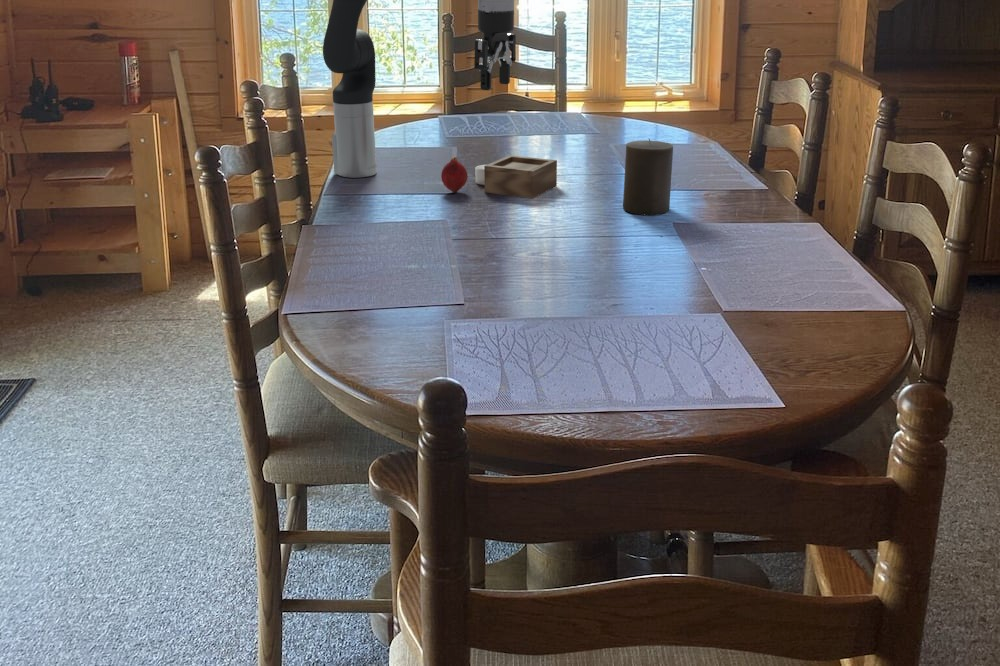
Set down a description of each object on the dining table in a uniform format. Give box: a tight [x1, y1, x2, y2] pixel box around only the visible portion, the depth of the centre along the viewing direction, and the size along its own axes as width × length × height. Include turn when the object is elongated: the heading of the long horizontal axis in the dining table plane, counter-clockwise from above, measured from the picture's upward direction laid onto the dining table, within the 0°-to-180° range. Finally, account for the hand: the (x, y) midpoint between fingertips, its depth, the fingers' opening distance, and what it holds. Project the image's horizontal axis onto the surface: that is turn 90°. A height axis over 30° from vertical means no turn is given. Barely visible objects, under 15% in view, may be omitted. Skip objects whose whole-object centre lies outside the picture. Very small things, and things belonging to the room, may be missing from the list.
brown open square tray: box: [484, 154, 558, 199], centre depth 237 cm, size 12×12×6 cm
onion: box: [440, 156, 469, 193], centre depth 235 cm, size 6×6×8 cm
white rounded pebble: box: [474, 164, 486, 186], centre depth 245 cm, size 6×6×4 cm
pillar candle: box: [622, 138, 674, 216], centre depth 219 cm, size 10×10×15 cm
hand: (495, 86), depth 227 cm, fingers open, 8 cm apart
